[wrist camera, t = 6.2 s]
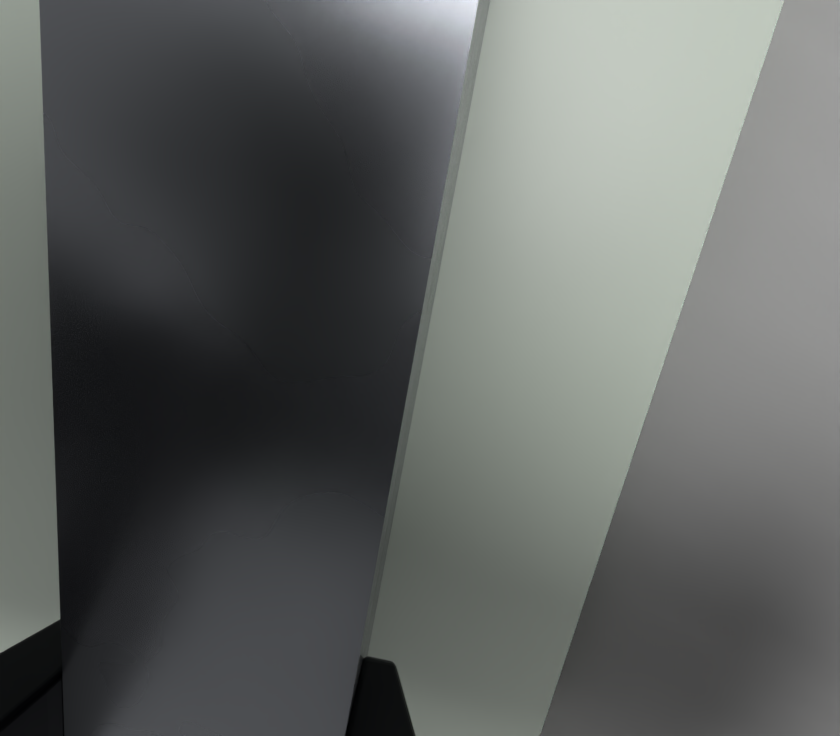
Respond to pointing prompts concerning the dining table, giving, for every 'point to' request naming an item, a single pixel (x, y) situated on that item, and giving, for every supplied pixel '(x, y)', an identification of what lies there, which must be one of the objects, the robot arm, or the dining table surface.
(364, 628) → the rail
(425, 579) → the pad
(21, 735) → the robot arm
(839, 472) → the dining table surface
